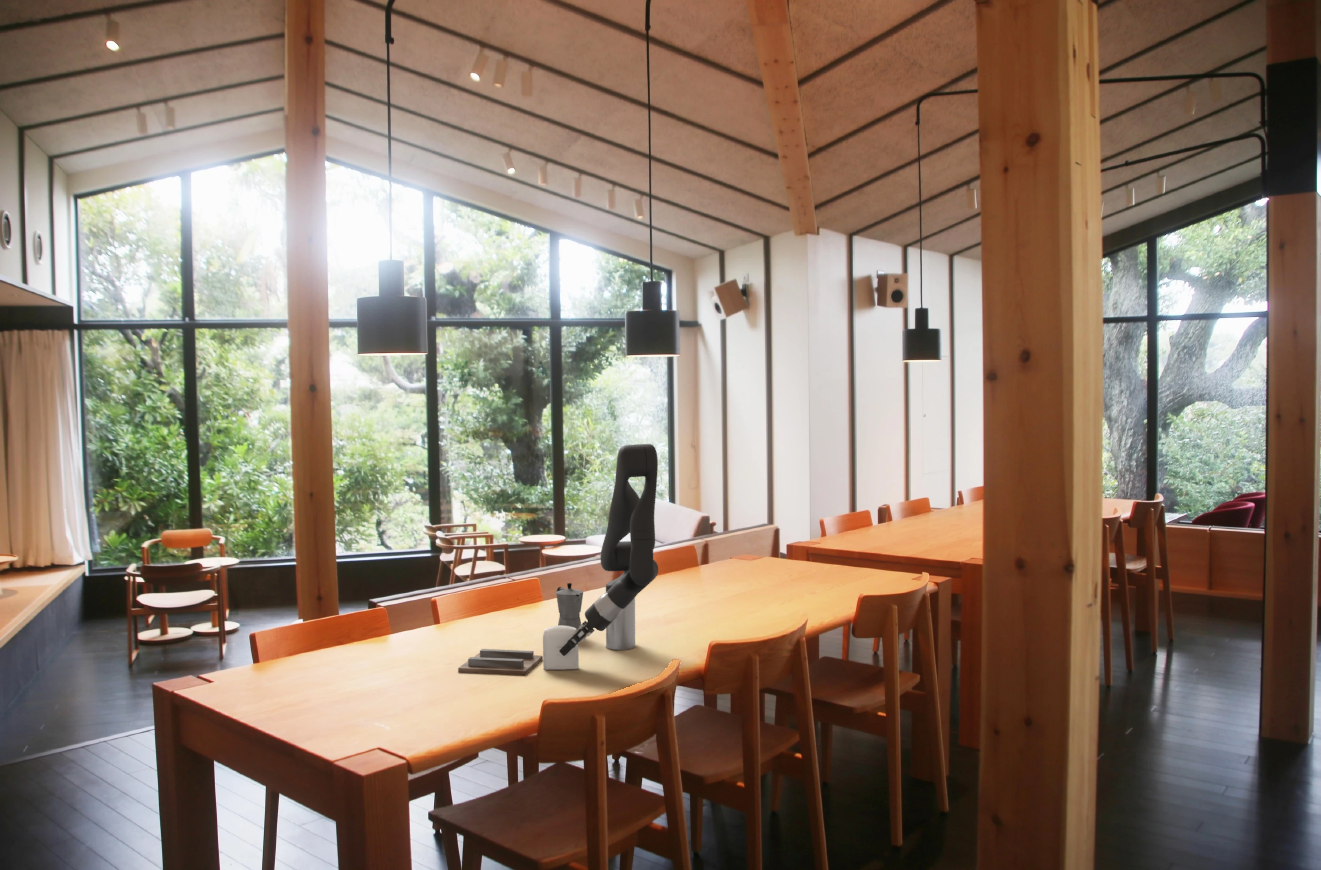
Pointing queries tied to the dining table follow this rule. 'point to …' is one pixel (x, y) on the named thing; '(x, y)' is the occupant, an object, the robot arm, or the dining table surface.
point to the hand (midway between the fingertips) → (564, 650)
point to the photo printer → (554, 642)
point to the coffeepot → (569, 606)
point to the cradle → (501, 662)
